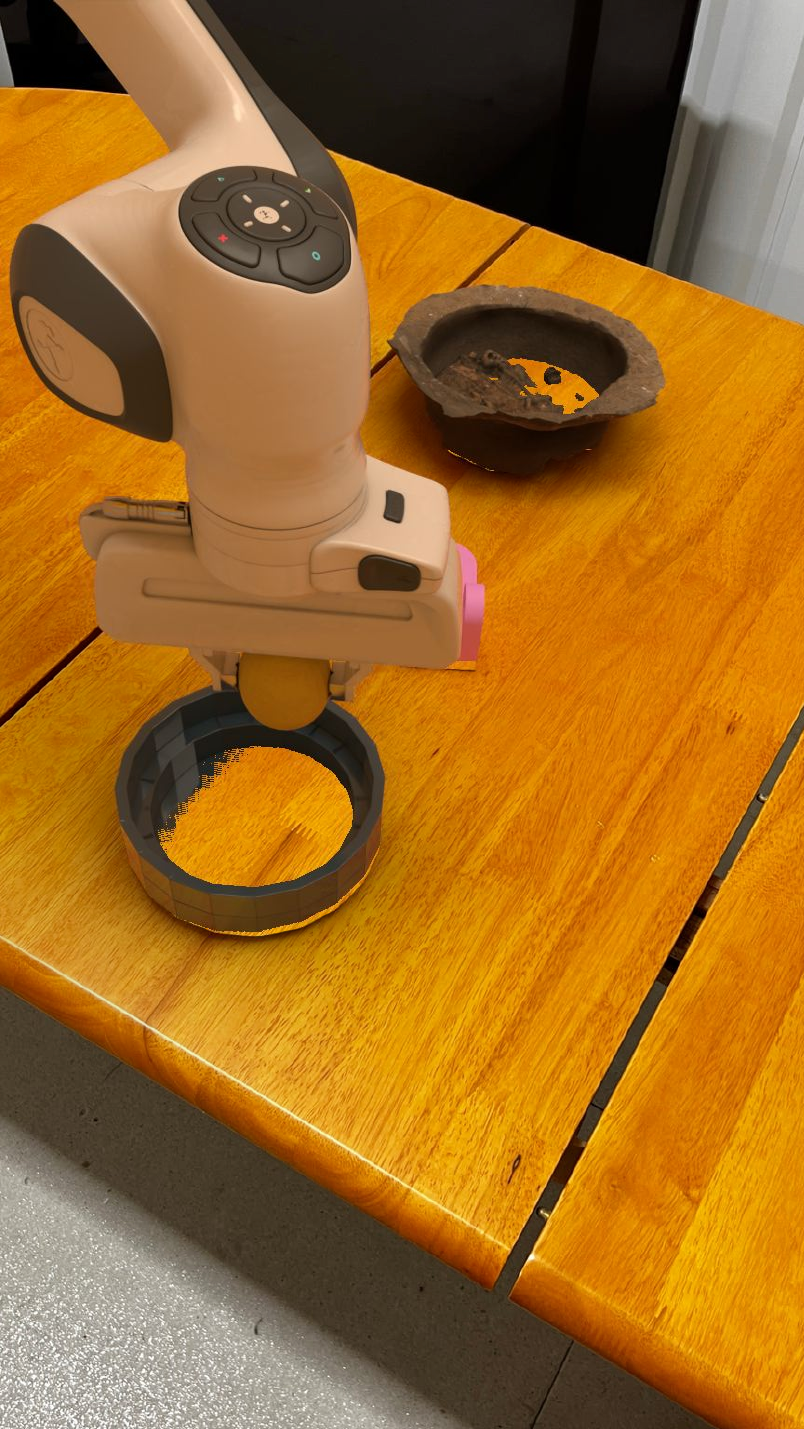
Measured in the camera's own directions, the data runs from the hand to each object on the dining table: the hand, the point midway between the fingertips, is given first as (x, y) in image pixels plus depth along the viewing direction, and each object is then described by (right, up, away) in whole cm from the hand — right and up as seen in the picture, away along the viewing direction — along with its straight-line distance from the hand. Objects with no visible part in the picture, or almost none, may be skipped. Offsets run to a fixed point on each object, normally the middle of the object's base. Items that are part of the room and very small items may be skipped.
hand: (286, 688), depth 73 cm
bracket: (+9, +9, +27) cm, 29 cm away
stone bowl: (+16, +29, +42) cm, 54 cm away
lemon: (0, -2, +3) cm, 3 cm away
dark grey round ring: (-4, -9, +13) cm, 16 cm away
